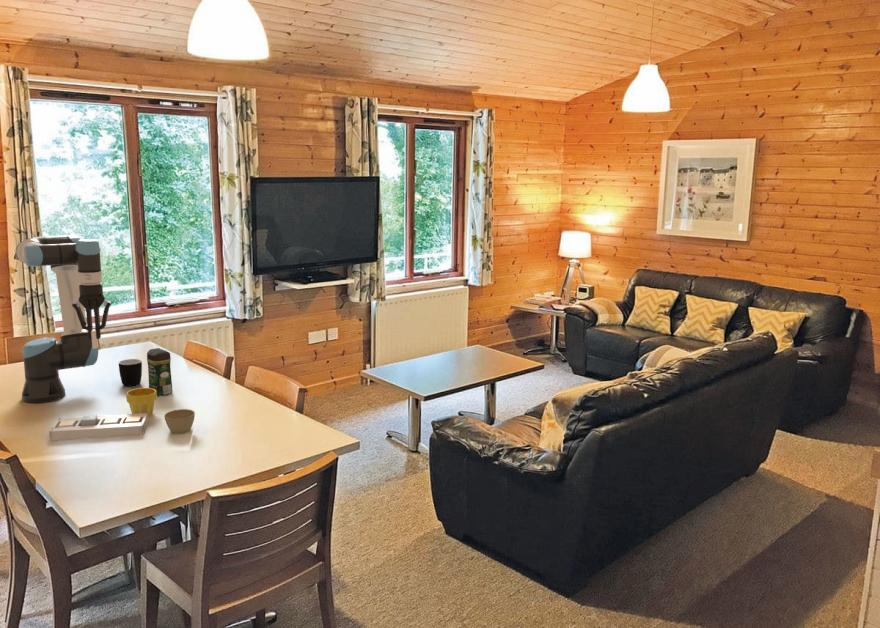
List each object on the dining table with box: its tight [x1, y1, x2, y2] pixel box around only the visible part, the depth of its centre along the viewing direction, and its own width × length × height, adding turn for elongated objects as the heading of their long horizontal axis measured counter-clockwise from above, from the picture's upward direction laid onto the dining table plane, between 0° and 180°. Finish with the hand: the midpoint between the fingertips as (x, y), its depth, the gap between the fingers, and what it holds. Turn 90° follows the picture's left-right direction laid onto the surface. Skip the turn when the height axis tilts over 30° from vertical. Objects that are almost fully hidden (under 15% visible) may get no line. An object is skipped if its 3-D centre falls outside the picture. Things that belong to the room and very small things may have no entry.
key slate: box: [80, 414, 98, 426], centre depth 245 cm, size 4×4×2 cm
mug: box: [118, 358, 143, 388], centre depth 301 cm, size 12×9×10 cm
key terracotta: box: [125, 416, 141, 423], centre depth 248 cm, size 4×4×2 cm
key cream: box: [58, 420, 76, 428], centre depth 243 cm, size 4×4×2 cm
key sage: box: [103, 418, 120, 425], centre depth 247 cm, size 4×4×2 cm
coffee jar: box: [146, 347, 174, 397], centre depth 289 cm, size 10×8×19 cm
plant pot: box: [126, 387, 158, 417], centre depth 263 cm, size 10×10×10 cm
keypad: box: [48, 413, 149, 442], centre depth 246 cm, size 29×13×4 cm, turn 105°
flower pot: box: [163, 408, 196, 435], centre depth 248 cm, size 10×10×7 cm
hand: (95, 347), depth 257 cm, fingers closed
